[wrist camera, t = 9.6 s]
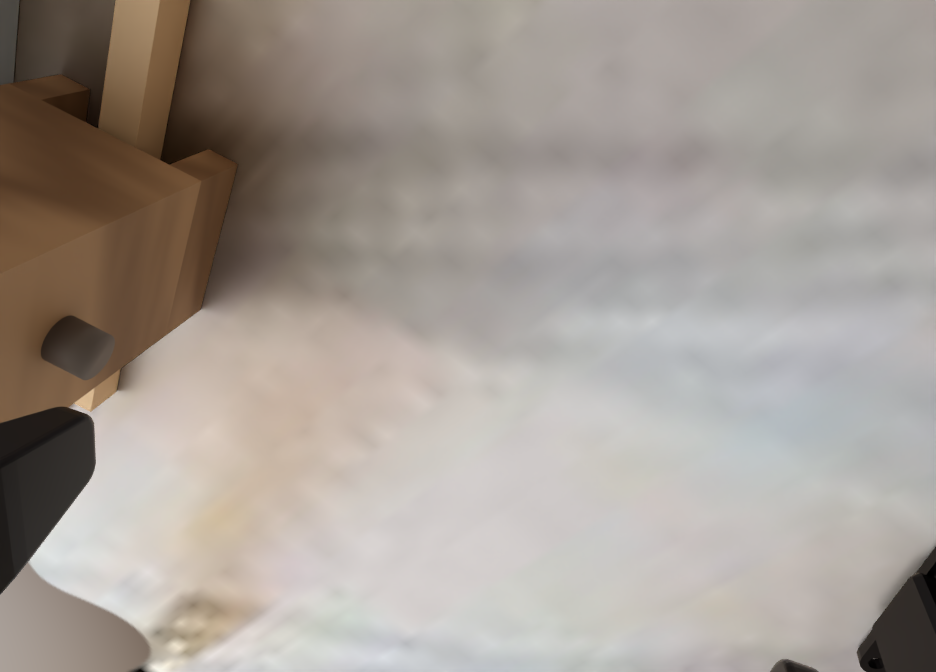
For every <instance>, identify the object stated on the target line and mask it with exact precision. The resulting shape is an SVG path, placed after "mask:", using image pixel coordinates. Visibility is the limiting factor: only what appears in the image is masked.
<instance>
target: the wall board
mask: <svg viewBox="0 0 936 672" xmlns="http://www.w3.org/2000/svg"><path fill="white" fill-rule="evenodd" d="M189 5H190V0H116V2H115V9H114V16H113V24H112V31H111V38H110V45H109V52H108V60H107V67H106V74H105V81H104V89H103V96H102V103H101V110H100V117H99V125H98V129H100V130H102V131H104V132H106V133H108V134H110V135H112V136H113V137H115V138H117V139H119V140H121V141H123V142H125V143H127V144H129V145H131V146H133V147H135V148H137V149H139V150H141V151H143V152H145V153H147V154H149V155H151V156H153V157H155V158H157V159H159V160H160V158H161V153H162V148H163V143H164V137H165V132H166V127H167V122H168V116H169V111H170V106H171V100H172V95H173V90H174V85H175V79H176V74H177V69H178V63H179V58H180V53H181V48H182V42H183V37H184V32H185V27H186V21H187V16H188V11H189ZM18 13H19V0H0V85H3V84H8V83H13V82H14V68H15V54H16V41H17V27H18ZM120 370H121V369H119V370H118V371H117V372H115V373H114V374H113V375H111V376H110V377H109V378H107V379H106V380H105V381H103V382H102V383H100V384H99V385H98V386H96V387H95V388H94V389H92V390H91V391H90V392H88V393H87V394H86V395H84V396H83V397H82V398H80V399H79V400H77V401H76V402H75V403H74V404H76V405H78V406H80V407H82V408H84V409H86V410H88V411H90V412H91V411H92V410H94V409H95V408H96V407H97V406H99V405H100V404H101V403H103V402H104V401H105V400H106V399H108V398H109V397H110V396H112V395H113V394H114V393H115V392H116V391H117V386H118V380H119V375H120Z"/></svg>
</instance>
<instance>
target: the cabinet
mask: <svg viewBox="0 0 936 672" xmlns="http://www.w3.org/2000/svg"><path fill="white" fill-rule="evenodd" d="M89 95H90V89H89V88H87V87H85V86H83V85H81V84H79V83H77V82H75V81H73V80H71V79H69V78H67V77H65V76H63V75H61V74H60V75H54V76H49V77H43V78H37V79H31V80H26V81H20V82H14V83H8V84H3V85H0V423H2V422H5V421H9V420H12V419H16V418H19V417H23V416H26V415H30V414H33V413H37V412H40V411H43V410H47V409H50V408H54V407H61V406H62V407H67V408H68V407H69V406H71V405H72V404H73V403H75V402H76V401H77V400H79V399H80V398H82V397H83V396H84V395H86V394H87V393H88V392H90V391H91V390H92V389H94V388H95V387H96V386H98V385H99V384H100V383H102V382H103V381H105V380H106V379H107V378H109V377H110V376H111V375H113V374H114V373H115V372H117V371H118V370H119V369H121V368H122V367H124V366H125V365H126V364H128V363H129V362H130V361H132V360H133V359H134V358H136V357H137V356H138V355H140V354H141V353H142V352H144V351H145V350H147V349H148V348H149V347H151V346H152V345H153V344H155V343H156V342H157V341H159V340H160V339H161V338H163V337H164V336H165V335H167V334H168V333H170V332H171V331H172V330H174V329H175V328H176V327H178V326H179V325H180V324H182V323H183V322H184V321H186V320H187V319H189V318H190V317H191V316H193V315H194V314H195V313H197V312H198V311H199V310H201V306H202V302H203V298H204V294H205V290H206V287H207V283H208V279H209V275H210V271H211V267H212V263H213V259H214V256H215V252H216V248H217V244H218V240H219V236H220V232H221V228H222V225H223V221H224V217H225V213H226V209H227V205H228V201H229V197H230V193H231V190H232V186H233V182H234V178H235V174H236V170H237V166H238V164H237V163H235V162H233V161H231V160H229V159H227V158H225V157H223V156H221V155H219V154H217V153H215V152H213V151H211V150H209V149H208V150H205V151H202V152H200V153H197V154H195V155H192V156H190V157H187V158H185V159H182V160H180V161H177V162H175V163H172V164H170V165H169V164H167V163H165V162H163V161H161V160H159V159H157V158H155V157H153V156H151V155H149V154H147V153H145V152H143V151H141V150H139V149H137V148H135V147H133V146H131V145H129V144H127V143H125V142H123V141H121V140H119V139H117V138H115V137H113V136H112V135H110V134H108V133H106V132H104V131H102V130H100V129H98V128H96V127H94V126H92V125H90V124H88V123H86V117H87V110H88V103H89Z"/></svg>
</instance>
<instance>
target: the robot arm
mask: <svg viewBox="0 0 936 672" xmlns="http://www.w3.org/2000/svg"><path fill="white" fill-rule="evenodd" d="M95 464H96V457H95V433H94V422H93V420H92V418H91V417H90V416H89V415H87V414H85V413H82V412H79V411H76V410H73V409H70V408H67V407H62V406H61V407H54V408H50V409H47V410H43V411H40V412H37V413H33V414H30V415H26V416H23V417H19V418H16V419H12V420H9V421H5V422H2V423H0V594H1V593H2V592H3V591H4V590H5V589H6V588H7V586H8V585H9V584H10V583H11V582H12V581H13V580H14V579H15V577H16V576H17V575H18V573H19V572H20V571H21V570H22V569H23V567H24V566H25V565H26V564H27V563H28V561H29V560H30V559H31V557H32V556H33V555H34V553H35V552H36V551H37V549H38V548H39V547H40V545H41V544H42V543H43V541H44V540H45V539H46V537H47V536H48V535H49V534H50V532H51V531H52V530H53V528H54V527H55V526H56V524H57V523H58V522H59V520H60V519H61V518H62V516H63V515H64V514H65V512H66V511H67V510H68V508H69V507H70V506H71V504H72V503H73V502H74V501H75V499H76V498H77V497H78V495H79V494H80V493H81V491H82V490H83V489H84V487H85V486H86V485H87V483H88V482H89V480H90V479H91V477H92V475H93V472H94V469H95ZM872 629H873V630H872V631H871V633H870V634H869V635H868V636H867V638H866V639H865V640H864V642H863V643H862V644H861V646H860V647H859V648H858V651H857V656H858V659H859V663H860V666H861V668H862V669H863V670H864V671H866V672H936V547H935V549H934V550H933V551H932V553H931V554H930V555H929V556H928V558H927V559H926V560H925V562H924V563H923V564H922V566H921V567H920V568H919V570H918V571H917V572H916V574H914V575H913V576H911V577H910V578H909V579H908V580H907V582H906V583H905V584H904V586H903V587H902V588H901V590H900V591H899V592H898V594H897V595H896V596H895V598H894V599H893V600H892V601H891V603H890V604H889V605H888V607H887V608H886V609H885V611H884V612H883V613H882V615H881V616H880V617H879V619H878V620H877V621H876V623H875V624H874V625H873V628H872ZM873 658H878V659H873ZM770 672H818V671H817V670H816V669H814V668H811V667H809V666H806V665H803V664H800V663H797V662H794V661H792V660H789V659H782V660H780V661H778V662H777V663H776V664H775V665H774V667H773V668H772V670H771V671H770Z"/></svg>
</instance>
